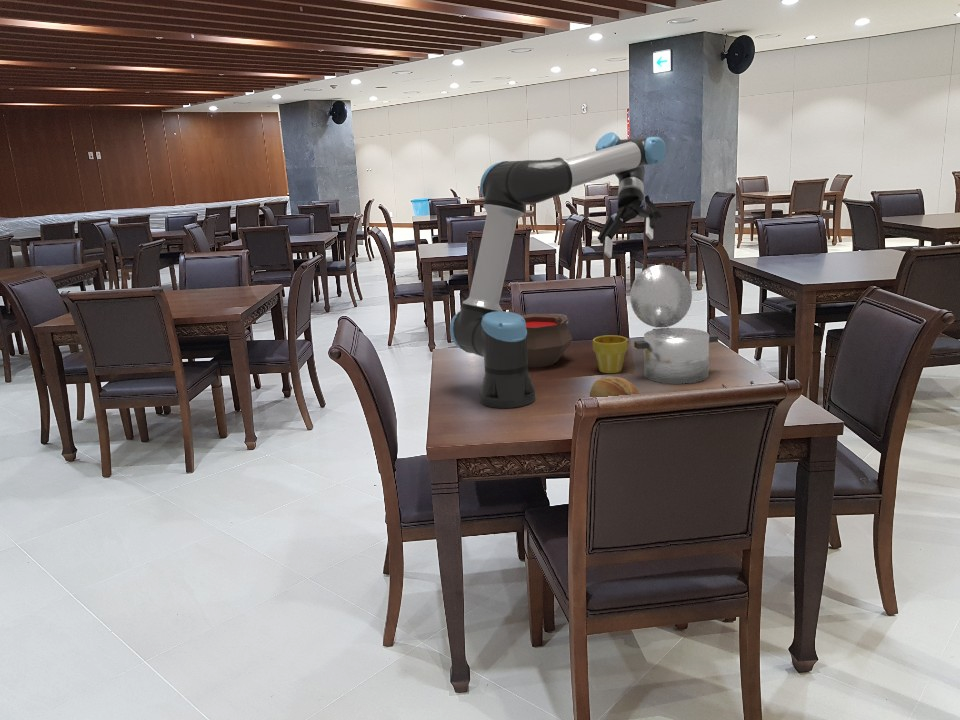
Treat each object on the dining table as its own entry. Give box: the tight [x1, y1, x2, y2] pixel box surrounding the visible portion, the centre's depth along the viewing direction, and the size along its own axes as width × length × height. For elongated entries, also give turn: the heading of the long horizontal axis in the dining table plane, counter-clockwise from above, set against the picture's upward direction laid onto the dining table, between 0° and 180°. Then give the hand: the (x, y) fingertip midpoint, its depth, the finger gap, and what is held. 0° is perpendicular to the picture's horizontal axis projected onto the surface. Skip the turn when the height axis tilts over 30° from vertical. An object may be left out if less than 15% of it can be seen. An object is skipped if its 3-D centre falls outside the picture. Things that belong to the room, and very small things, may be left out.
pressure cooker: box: [633, 327, 719, 385], centre depth 211 cm, size 24×21×12 cm
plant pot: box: [592, 334, 629, 374], centre depth 219 cm, size 10×10×10 cm
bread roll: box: [589, 376, 640, 398], centre depth 186 cm, size 10×15×8 cm, turn 40°
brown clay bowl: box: [508, 308, 574, 369], centre depth 233 cm, size 24×24×16 cm
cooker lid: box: [629, 264, 693, 329], centre depth 218 cm, size 19×19×4 cm
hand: (628, 246), depth 207 cm, fingers open, 13 cm apart
